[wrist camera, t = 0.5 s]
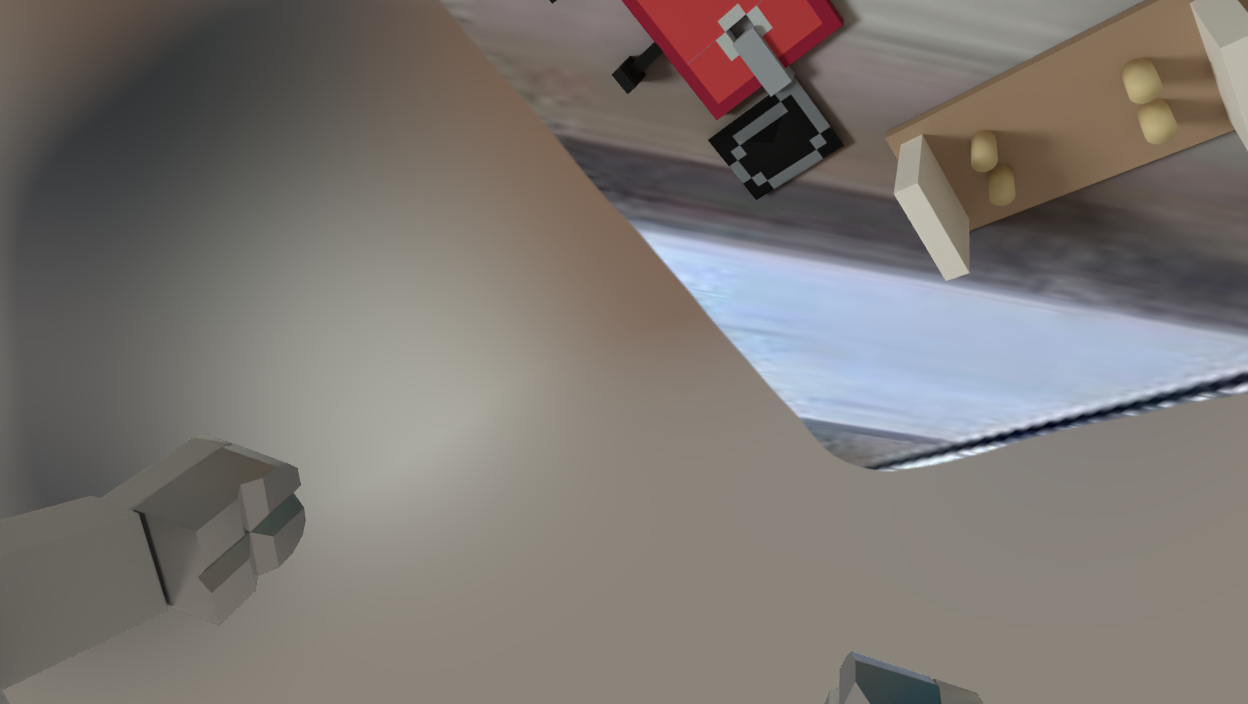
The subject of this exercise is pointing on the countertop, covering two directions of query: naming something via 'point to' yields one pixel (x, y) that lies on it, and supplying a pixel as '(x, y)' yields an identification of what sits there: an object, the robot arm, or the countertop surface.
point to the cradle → (1073, 119)
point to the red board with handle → (745, 77)
